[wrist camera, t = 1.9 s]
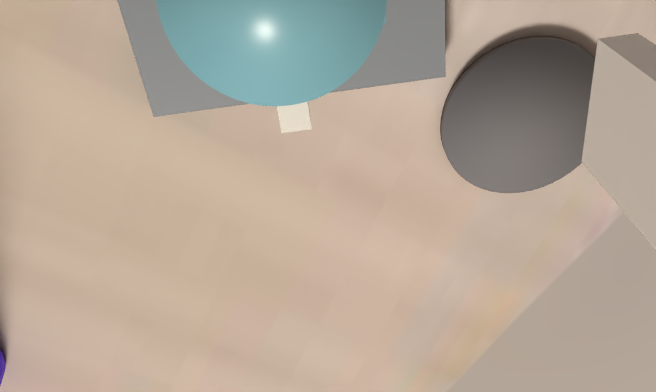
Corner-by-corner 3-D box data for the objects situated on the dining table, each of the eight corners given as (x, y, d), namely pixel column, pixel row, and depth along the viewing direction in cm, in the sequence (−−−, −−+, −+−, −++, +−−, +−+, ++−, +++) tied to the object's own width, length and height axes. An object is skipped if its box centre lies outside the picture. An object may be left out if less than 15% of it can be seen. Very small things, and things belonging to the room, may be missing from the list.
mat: (439, 49, 33) (441, 53, 33) (618, 24, 33) (624, 28, 33) (441, 197, 39) (443, 202, 38) (595, 176, 39) (599, 181, 38)
